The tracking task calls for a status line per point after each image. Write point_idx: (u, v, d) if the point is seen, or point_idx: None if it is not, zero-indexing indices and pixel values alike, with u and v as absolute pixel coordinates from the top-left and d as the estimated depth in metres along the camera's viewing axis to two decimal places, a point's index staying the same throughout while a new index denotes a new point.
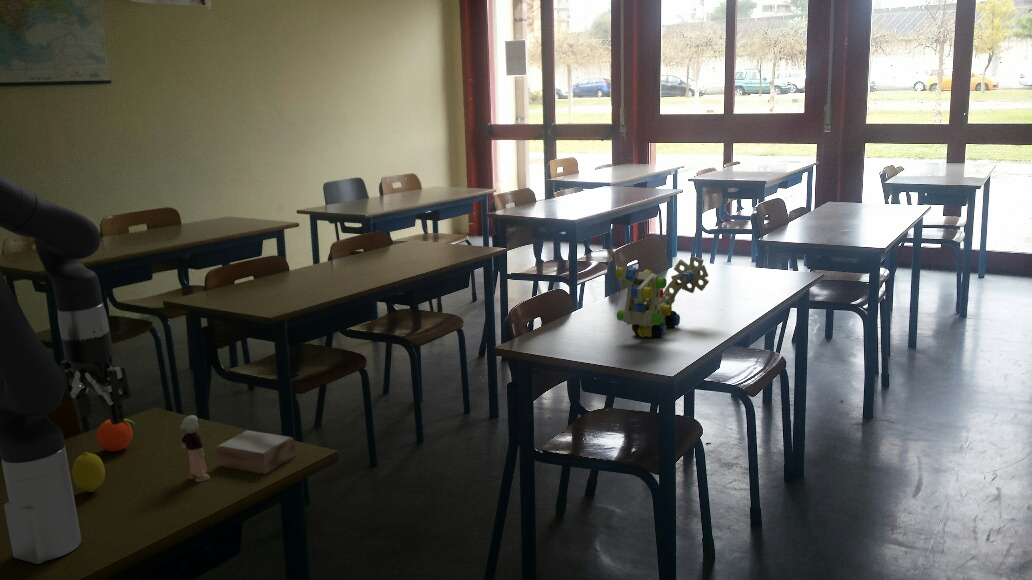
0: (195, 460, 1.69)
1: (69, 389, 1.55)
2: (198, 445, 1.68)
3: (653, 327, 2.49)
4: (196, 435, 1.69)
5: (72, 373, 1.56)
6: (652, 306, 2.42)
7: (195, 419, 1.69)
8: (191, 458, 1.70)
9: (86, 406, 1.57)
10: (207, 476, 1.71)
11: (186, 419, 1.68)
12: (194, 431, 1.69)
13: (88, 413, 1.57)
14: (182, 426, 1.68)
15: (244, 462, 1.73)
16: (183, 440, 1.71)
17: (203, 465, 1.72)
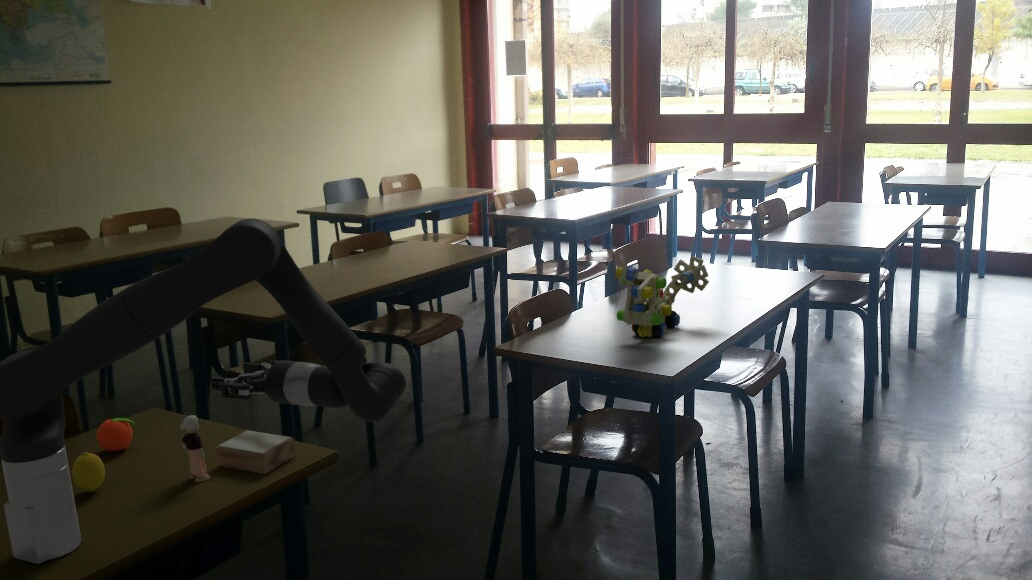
0: (195, 460, 1.69)
1: (271, 363, 1.65)
2: (198, 445, 1.68)
3: (653, 327, 2.49)
4: (196, 435, 1.69)
5: None
6: (652, 306, 2.42)
7: (195, 419, 1.69)
8: (191, 458, 1.70)
9: (250, 371, 1.65)
10: (207, 476, 1.71)
11: (186, 419, 1.68)
12: (194, 431, 1.69)
13: (244, 371, 1.66)
14: (182, 426, 1.68)
15: (244, 462, 1.73)
16: (183, 440, 1.71)
17: (203, 465, 1.72)
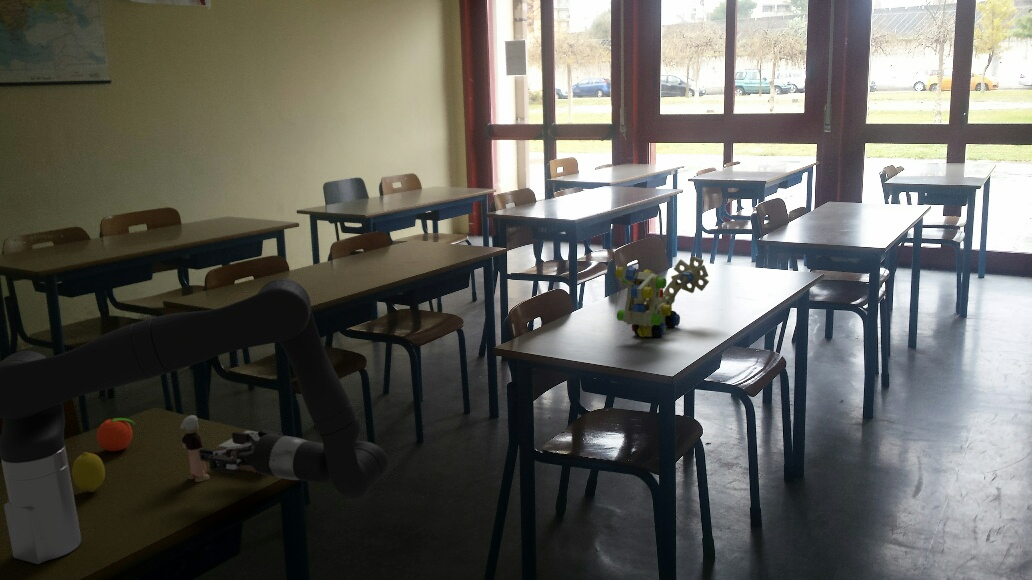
0: (195, 460, 1.69)
1: (259, 432, 1.70)
2: (198, 445, 1.68)
3: (653, 327, 2.49)
4: (196, 435, 1.69)
5: None
6: (652, 306, 2.42)
7: (195, 419, 1.69)
8: (191, 458, 1.70)
9: (239, 440, 1.70)
10: (207, 476, 1.71)
11: (186, 419, 1.68)
12: (194, 431, 1.69)
13: (233, 440, 1.71)
14: (182, 426, 1.68)
15: None
16: (183, 440, 1.71)
17: (203, 465, 1.72)
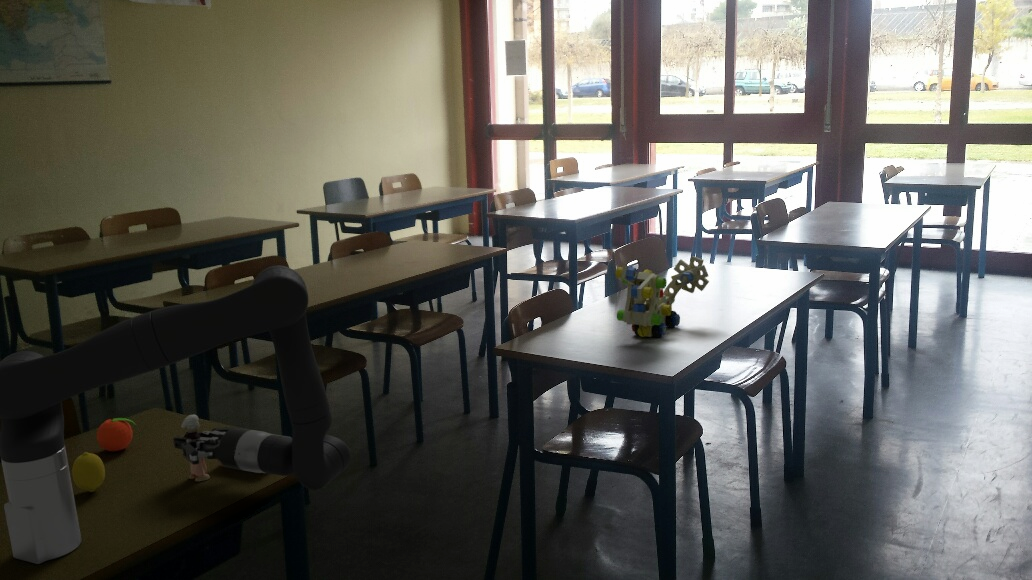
0: None
1: None
2: None
3: (653, 327, 2.49)
4: (197, 434, 1.69)
5: None
6: (652, 306, 2.42)
7: (196, 418, 1.69)
8: None
9: None
10: (207, 476, 1.71)
11: (187, 418, 1.69)
12: (195, 430, 1.69)
13: None
14: (183, 425, 1.68)
15: None
16: None
17: (203, 465, 1.72)
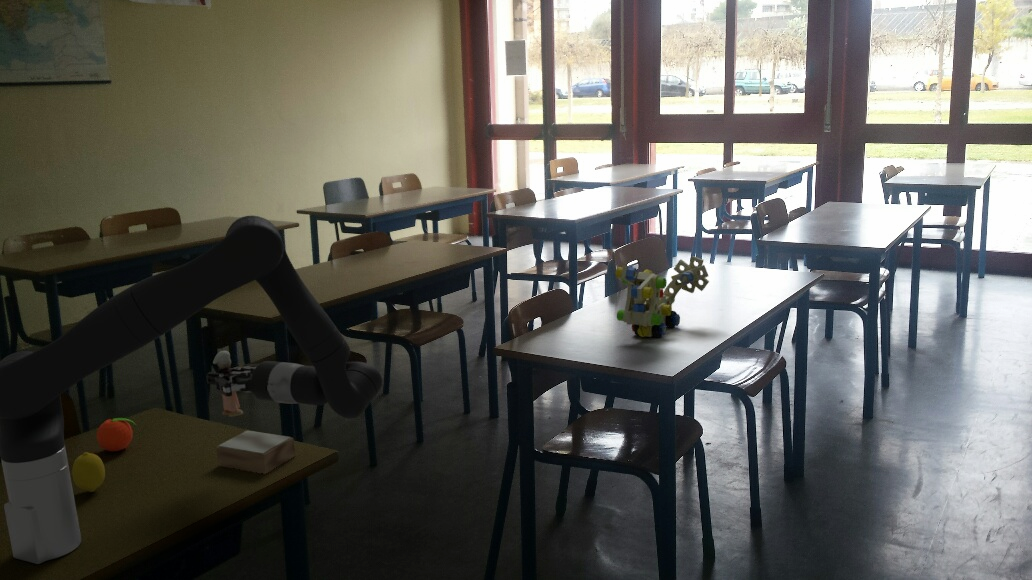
0: None
1: None
2: None
3: (653, 327, 2.49)
4: (229, 370, 1.70)
5: None
6: (652, 306, 2.42)
7: (227, 354, 1.70)
8: None
9: None
10: (240, 411, 1.72)
11: (219, 354, 1.70)
12: (227, 366, 1.70)
13: None
14: (215, 361, 1.69)
15: (244, 462, 1.73)
16: None
17: (236, 401, 1.73)
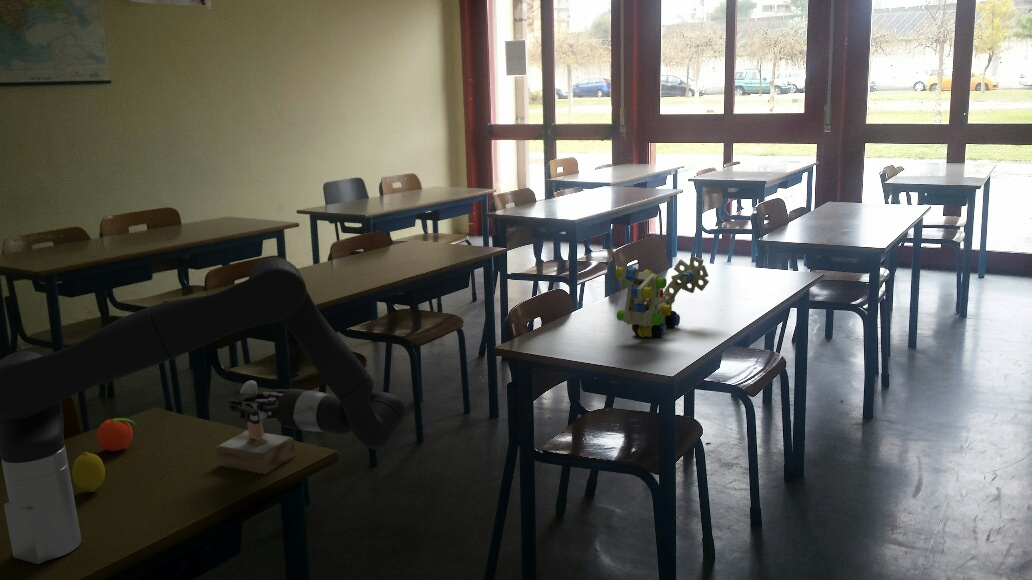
0: (255, 424, 1.75)
1: None
2: None
3: (653, 327, 2.49)
4: (255, 399, 1.75)
5: None
6: (652, 306, 2.42)
7: (255, 384, 1.74)
8: None
9: None
10: (265, 439, 1.76)
11: (246, 384, 1.74)
12: (253, 396, 1.74)
13: None
14: (242, 391, 1.73)
15: (244, 462, 1.73)
16: None
17: (261, 429, 1.77)
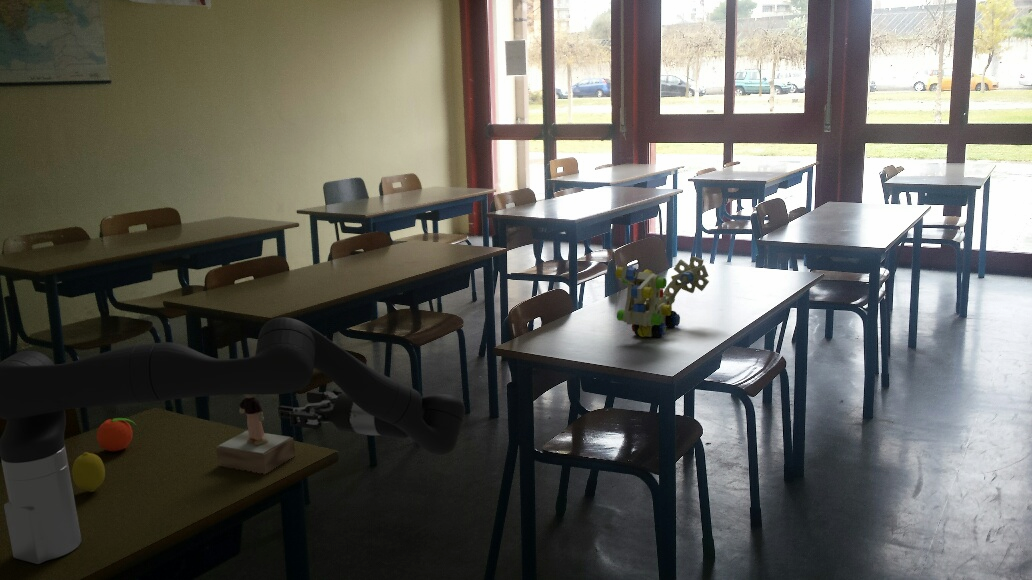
0: (255, 424, 1.75)
1: (333, 392, 1.73)
2: (258, 409, 1.73)
3: (653, 327, 2.49)
4: (255, 399, 1.75)
5: None
6: (652, 306, 2.42)
7: None
8: (250, 422, 1.75)
9: (313, 399, 1.73)
10: (265, 439, 1.76)
11: None
12: (253, 396, 1.74)
13: (308, 399, 1.74)
14: None
15: (244, 462, 1.73)
16: (241, 405, 1.77)
17: (261, 429, 1.77)
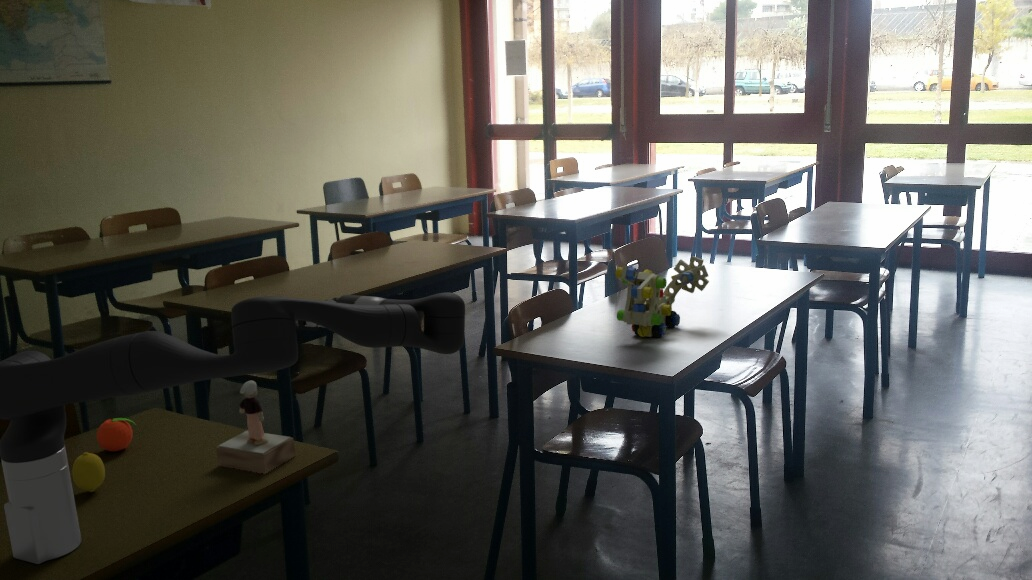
0: (255, 424, 1.75)
1: (333, 300, 1.68)
2: (258, 409, 1.73)
3: (653, 327, 2.49)
4: (255, 399, 1.75)
5: None
6: (652, 306, 2.42)
7: (254, 384, 1.74)
8: (250, 422, 1.75)
9: None
10: (265, 439, 1.76)
11: (246, 384, 1.74)
12: (253, 396, 1.74)
13: None
14: (242, 391, 1.73)
15: (244, 462, 1.73)
16: (241, 405, 1.77)
17: (261, 429, 1.77)
